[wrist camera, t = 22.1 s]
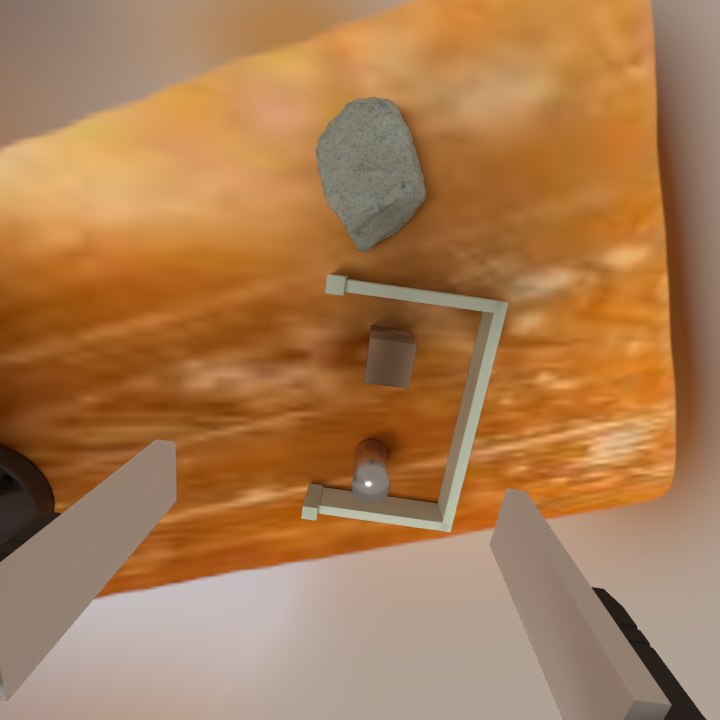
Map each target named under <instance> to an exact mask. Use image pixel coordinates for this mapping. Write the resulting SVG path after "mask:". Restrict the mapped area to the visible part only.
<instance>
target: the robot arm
mask: <svg viewBox="0 0 720 720" xmlns="http://www.w3.org/2000/svg"><path fill="white" fill-rule="evenodd" d="M175 502H176V443H175V442H173V441H166V440H158V439H156V440H154V441H153V442H152V443H151V444H149V445H148V446H147V447H146V448H144V449H143V450H142V451H141V452H139V453H138V454H137V455H136V456H134V457H133V458H132V459H130V460H129V461H128V462H127V463H125V464H124V465H123V466H122V467H120V468H119V469H118V470H117V471H115V472H114V473H113V474H111V475H110V476H109V477H108V478H106V479H105V480H104V481H103V482H101V483H100V484H99V485H98V486H96V487H95V488H94V489H93V490H91V491H90V492H89V493H87V494H86V495H85V496H84V497H82V498H81V499H80V500H79V501H77V502H76V503H75V504H74V505H72V506H71V507H70V508H68V509H67V510H66V511H65V512H63V513H54V512H52V511H53V498H52V494H51V491H50V488H49V486H48V484H47V482H46V480H45V479H44V477H43V476H42V475H41V473H40V472H39V471H38V470H37V469H36V468H35V467H34V466H33V465H32V464H31V463H30V462H29V461H27V460H26V459H25V458H23V457H22V456H20V455H19V454H17V453H15V452H13V451H11V450H9V449H6V448H3V447H0V700H2V701H8V700H9V699H10V698H11V696H12V695H13V694H14V693H15V692H16V691H17V689H18V688H19V687H20V686H21V685H22V683H23V682H24V681H25V680H26V679H27V677H28V676H29V675H30V674H31V673H32V672H33V670H34V669H35V668H36V667H37V666H38V664H39V663H40V662H41V661H42V660H43V658H44V657H45V656H46V655H47V654H48V653H49V651H50V650H51V649H52V648H53V647H54V645H55V644H56V643H57V642H58V641H59V639H60V638H61V637H62V636H63V635H64V633H65V632H66V631H67V630H68V629H69V628H70V626H71V625H72V624H73V623H74V622H75V621H76V619H77V618H78V617H79V616H80V614H81V613H82V612H83V611H84V610H85V609H86V607H87V606H88V605H89V604H90V603H91V602H92V600H93V599H94V598H95V597H96V596H97V594H98V593H99V592H100V591H101V590H102V589H103V587H104V586H105V585H106V584H107V583H108V581H109V580H110V579H111V578H112V577H113V576H114V574H115V573H116V572H117V571H118V570H119V568H120V567H121V566H122V565H123V564H124V562H125V561H126V560H127V559H128V558H129V557H130V555H131V554H132V553H133V552H134V551H135V549H136V548H137V547H138V546H139V545H140V544H141V542H142V541H143V540H144V539H145V538H146V536H147V535H148V534H149V533H150V532H151V530H152V529H153V528H154V527H155V526H156V525H157V523H158V522H159V521H160V520H161V519H162V517H163V516H164V515H165V514H166V513H167V512H168V510H169V509H170V508H171V507H172V506H173V504H174V503H175ZM490 547H491V549H492V552H493V554H494V556H495V558H496V561H497V564H498V566H499V568H500V571H501V573H502V575H503V578H504V580H505V583H506V585H507V587H508V589H509V592H510V594H511V597H512V599H513V602H514V604H515V606H516V608H517V611H518V613H519V615H520V618H521V620H522V623H523V625H524V628H525V630H526V633H527V635H528V637H529V640H530V642H531V644H532V647H533V649H534V651H535V654H536V656H537V659H538V661H539V663H540V666H541V668H542V671H543V673H544V675H545V678H546V680H547V682H548V685H549V687H550V690H551V692H552V694H553V697H554V699H555V701H556V704H557V706H558V709H559V711H560V714H561V716H562V718H563V720H706V719H705V717H704V716H703V715H702V714H701V712H700V711H699V710H698V708H697V707H696V706H695V704H694V703H693V702H692V700H691V699H690V697H689V696H688V695H687V693H686V692H685V691H684V689H683V688H682V687H681V685H680V684H679V683H678V681H677V680H676V679H675V677H674V676H673V674H672V673H671V672H670V670H669V669H668V668H667V666H666V665H665V663H664V662H663V661H662V659H661V658H660V657H659V655H658V654H657V653H656V651H655V650H654V649H653V648H651V647H650V643H649V642H648V640H647V639H646V638H645V636H644V635H643V634H642V632H641V631H640V630H638V629H637V625H636V624H635V623H634V621H633V620H632V619H631V617H630V616H629V615H628V613H627V612H626V611H625V609H624V608H623V607H622V606H621V605H620V604H619V603H618V602H617V601H616V600H615V599H614V598H613V597H612V596H610V594H608V593H607V592H606V591H605V590H604V589H600V588H593V587H591V586H590V585H589V583H588V582H587V580H586V579H585V577H584V576H583V574H582V573H581V571H580V570H579V568H578V567H577V566H576V564H575V563H574V561H573V560H572V558H571V557H570V555H569V554H568V552H567V551H566V550H565V548H564V547H563V545H562V544H561V542H560V541H559V539H558V538H557V536H556V535H555V533H554V532H553V530H552V529H551V527H550V526H549V525H548V523H547V522H546V520H545V519H544V517H543V516H542V514H541V513H540V511H539V510H538V508H537V507H536V505H535V504H534V503H533V501H532V500H531V498H530V497H529V495H528V494H527V492H526V491H520V490H513V489H506V492H505V495H504V499H503V502H502V505H501V509H500V512H499V515H498V519H497V522H496V526H495V529H494V532H493V536H492V539H491V543H490Z"/></svg>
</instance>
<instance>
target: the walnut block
mask: <svg viewBox="0 0 720 720" xmlns="http://www.w3.org/2000/svg"><path fill="white" fill-rule="evenodd" d="M416 349H417V343H416V341H415V340H414V338H413V336H412V334H411V333H410V331H405V330H398V329H391V328H383V327H376V326H371V329H370V336H369V342H368V349H367V356H366V363H365V375H364V383H371V384H378V385H385V386H393V387H400V388H407V389H409V387H410V381H411V376H412V371H413V365H414V360H415V355H416Z"/></svg>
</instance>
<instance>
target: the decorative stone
mask: <svg viewBox="0 0 720 720" xmlns="http://www.w3.org/2000/svg"><path fill="white" fill-rule="evenodd" d="M316 156H317V160H318V170H319V172H320V175H321V180H322V187H323V191H324V196H325V198H326V200H327V203H328V205H329V207H330V208H331V209H332V210H333V211H334V212H335V213H336V214H337V215H338V217H339V219H340V220H341V222H342V223H343V224H344V226H345V227H346V229H347V232H348V234H349V236H350V237H351V239H352V240H353V242H354V243H355V245H356V247H357V249H358V250H359V251H360V252H364V251H368V250H369V249H370V248H371V247H372V246H373V245H374V244H376V243H378V242H380V241H382V240H384V239H386V238H389V237H390V236H392V235H394V234H396V233H397V232H398V231H399V230H400V229H401V228H402V227H403V225H404V224H406V223H407V222H408V221H410V220H411V219H412V217H413V214H414V213H415V211H416V210H417V209H418V207H419V206H420V205H421V204H422V203H423V202H424V200H425V198H426V189H425V186H424V176H423V174H422V170H421V168H420V162H419V159H418V155H417V152H416V149H415V145H414V144H413V139H412V136H411V133H410V130H409V128H408V126H407V125H406V123H405V121H404V119H403V117H402V115H401V113H400V111H399V109H398V107H397V106H396V105H395V104H394V103H393V102H392V101H390V100H387V99H380V98H378V99H377V98H376V97H372V98H368V99H357V100H354V101H352V102H351V103H348V104H347V105H346V106H345V107H344V109H343V110H342V112H341V113H340V114H339V115H338V116H336V117H335V118H334V119H333V120H332V121H331V122H329V124H328V126H327V129H326V131H325V132H324V133H323V134H322V135H321V136H320V138H319V140H318V145H317V148H316Z"/></svg>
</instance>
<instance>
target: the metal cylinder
mask: <svg viewBox="0 0 720 720" xmlns="http://www.w3.org/2000/svg"><path fill="white" fill-rule="evenodd" d="M352 490H353V493H354V495H355V496H356V498H358V499H359V500H360V501H362V502H365V503H377V502H380V501H382V500H383V499H384V498H385V497H386V496H387V494H388V492H389V479H388V465H387V451H386V448H385V446H384V445H383V444H382V443H381V442H380V441H378V440H375V439H367V440H364V441H362V442H361V443H359V444H358V446H357V448H356V452H355V462H354V472H353V482H352Z"/></svg>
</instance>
